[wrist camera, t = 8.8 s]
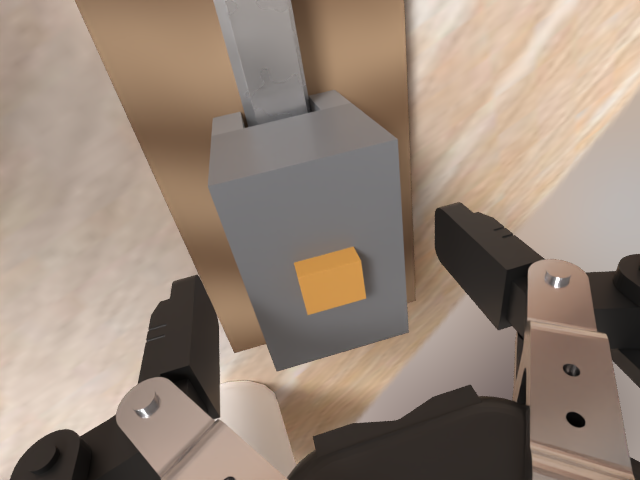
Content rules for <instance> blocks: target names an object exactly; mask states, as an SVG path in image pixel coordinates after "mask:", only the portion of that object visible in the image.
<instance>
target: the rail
mask: <svg viewBox="0 0 640 480" xmlns="http://www.w3.org/2000/svg"><path fill="white" fill-rule="evenodd" d="M213 2H214V5H215V9H216V12H217V16H218V19H219V23H220V27H221V30H222V34H223V37H224V41H225V45H226V48H227V52H228V55H229V59H230V63H231V66H232V70H233V73H234V77H235V80H236V84H237V88H238V91H239V95H240V98H241V102H242V106H243V109H244V113H245V116H246V120H247V124H248V127H252V126H256V125H260V124H264V123H268V122H273V121H277V120H281V119H285V118H289V117H294V116H298V115H302V114H306V113H310V112H311V109H310V103H309V98H308V92H307V87H306V81H305V76H304V70H303V64H302V59H301V53H300V48H299V42H298V37H297V31H296V26H295V20H294V15H293V9H292V4H291V0H213Z"/></svg>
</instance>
